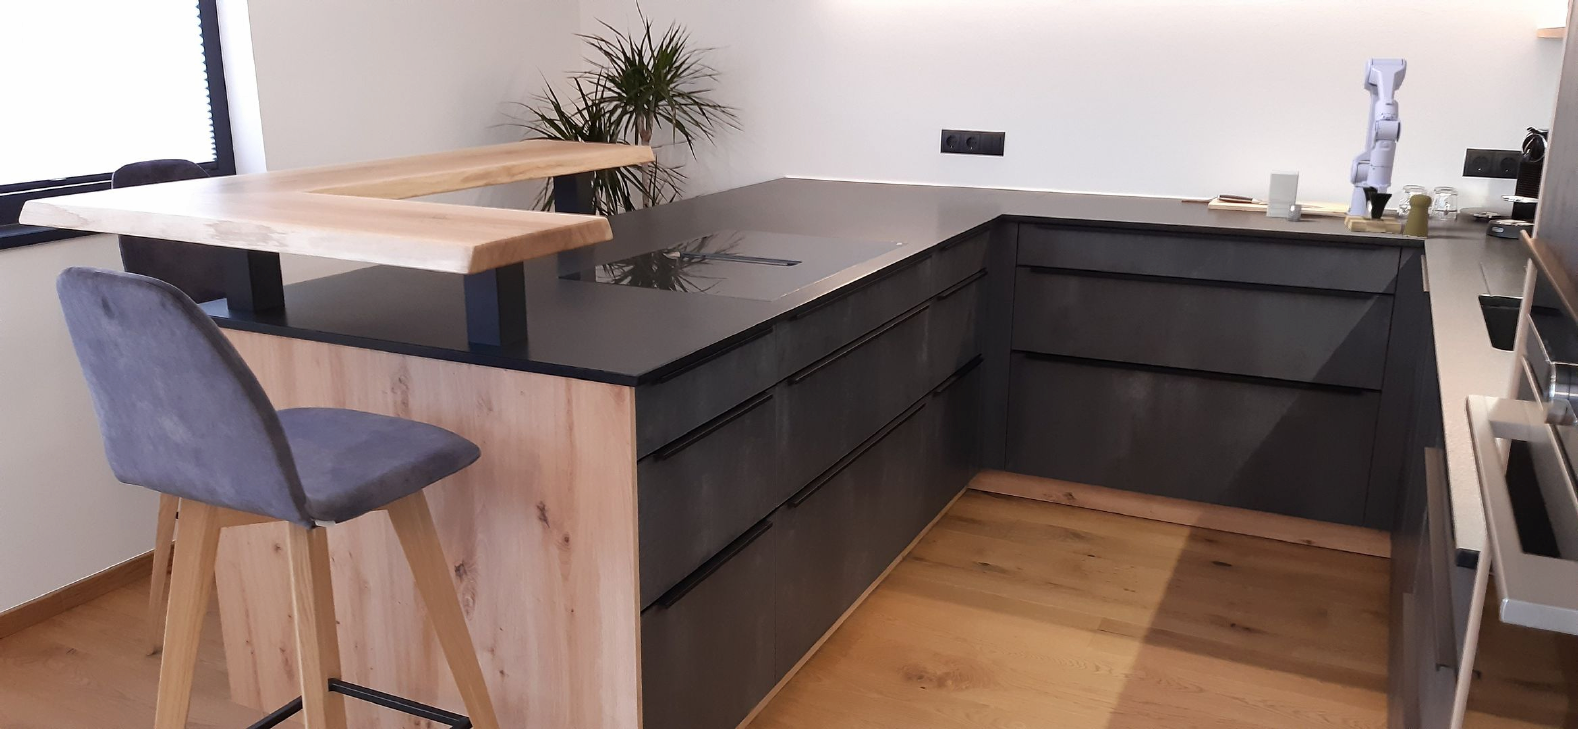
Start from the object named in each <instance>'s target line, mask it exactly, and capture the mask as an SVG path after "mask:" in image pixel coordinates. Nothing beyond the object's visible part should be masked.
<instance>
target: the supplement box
mask: <svg viewBox="0 0 1578 729" xmlns="http://www.w3.org/2000/svg"><path fill="white" fill-rule="evenodd" d="M1299 173H1300V171H1295V170H1294V171H1293V170H1273V169H1272V172H1271V173H1270V181H1269V188H1268V195H1267V196H1268V197H1267V207H1266V217H1267V218H1283V219H1284V218H1285V219H1286V218H1287V219H1288V213H1289V206H1290V204H1297V203H1296V200H1297V193H1298V187H1299V186H1298V185H1299V177H1300V176H1299Z"/></svg>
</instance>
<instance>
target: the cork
mask: <svg viewBox="0 0 1578 729" xmlns="http://www.w3.org/2000/svg"><path fill="white" fill-rule="evenodd" d="M1432 199H1433V198H1432V196H1430V195H1427V194H1420V193H1418V194H1413V195H1411V196H1410V197H1409V199H1408V201H1409V202H1408V204H1409V206H1410V209H1409V212H1408V215H1407V218H1406V222H1405V226H1404V228H1403V231H1402V234H1403V235H1410V236H1417V237H1428V238H1429V208H1430V207H1431V205H1432V202H1433V200H1432Z"/></svg>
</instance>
